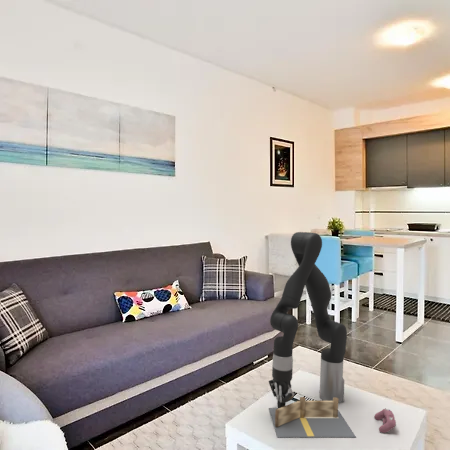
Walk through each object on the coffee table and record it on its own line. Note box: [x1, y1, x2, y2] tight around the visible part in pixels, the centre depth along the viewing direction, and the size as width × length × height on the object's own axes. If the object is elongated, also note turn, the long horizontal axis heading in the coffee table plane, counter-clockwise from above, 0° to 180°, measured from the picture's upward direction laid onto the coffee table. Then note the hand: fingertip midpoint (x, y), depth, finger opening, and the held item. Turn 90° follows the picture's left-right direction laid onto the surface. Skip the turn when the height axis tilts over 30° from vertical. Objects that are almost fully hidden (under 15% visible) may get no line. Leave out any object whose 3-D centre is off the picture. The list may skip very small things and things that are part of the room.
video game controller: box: [373, 408, 397, 434], centre depth 135 cm, size 10×5×7 cm, turn 169°
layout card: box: [268, 407, 357, 439], centre depth 136 cm, size 28×18×1 cm, turn 93°
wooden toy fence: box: [299, 396, 339, 418], centre depth 139 cm, size 15×2×8 cm, turn 93°
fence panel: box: [275, 400, 301, 427], centre depth 135 cm, size 12×1×6 cm, turn 124°
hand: (280, 410), depth 136 cm, fingers closed
